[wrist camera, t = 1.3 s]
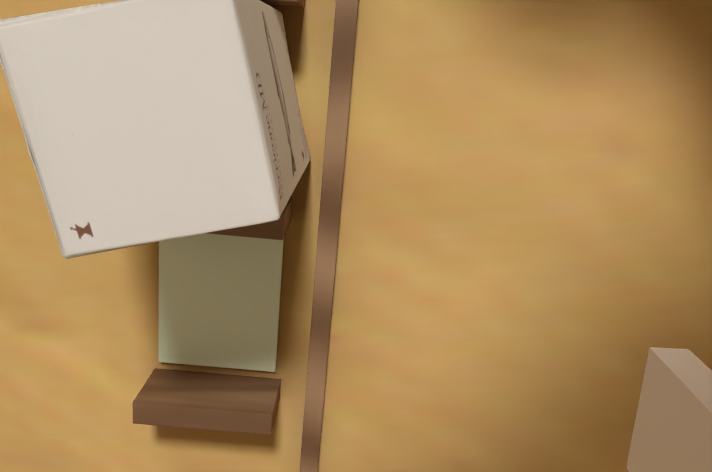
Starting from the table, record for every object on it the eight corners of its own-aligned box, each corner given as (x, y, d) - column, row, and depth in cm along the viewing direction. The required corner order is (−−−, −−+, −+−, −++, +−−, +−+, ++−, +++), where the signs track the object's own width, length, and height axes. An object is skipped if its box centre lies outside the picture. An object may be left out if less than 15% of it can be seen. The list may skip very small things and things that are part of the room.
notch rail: (154, -35, 29) (127, -47, 25) (359, -15, 29) (359, -24, 26) (154, 539, 38) (134, 586, 35) (310, 552, 38) (305, 600, 35)
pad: (160, 220, 32) (158, 221, 32) (284, 231, 32) (283, 232, 32) (160, 359, 35) (158, 362, 34) (275, 369, 35) (275, 371, 34)
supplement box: (314, 162, 31) (285, 230, 19) (171, 185, 32) (54, 266, 20) (286, 7, 29) (233, -24, 17) (134, 34, 30) (-23, 21, 18)
